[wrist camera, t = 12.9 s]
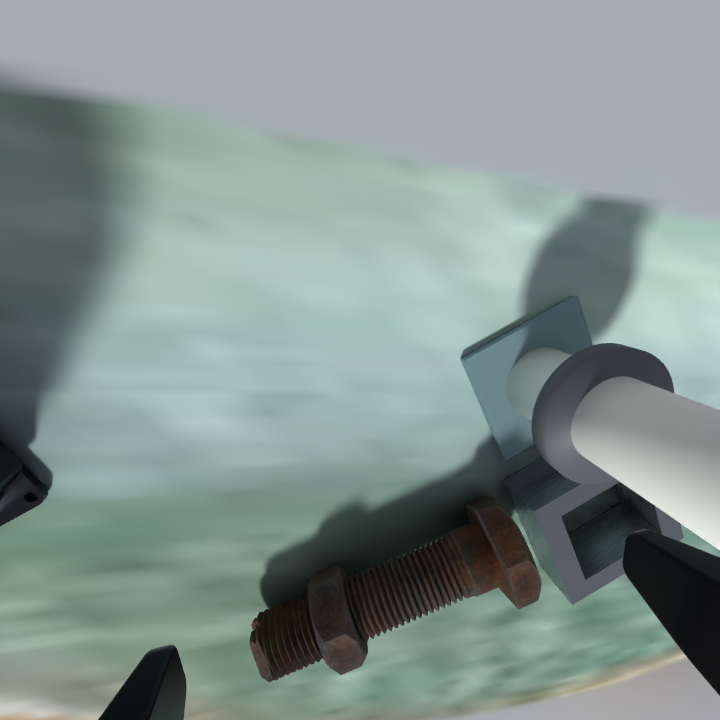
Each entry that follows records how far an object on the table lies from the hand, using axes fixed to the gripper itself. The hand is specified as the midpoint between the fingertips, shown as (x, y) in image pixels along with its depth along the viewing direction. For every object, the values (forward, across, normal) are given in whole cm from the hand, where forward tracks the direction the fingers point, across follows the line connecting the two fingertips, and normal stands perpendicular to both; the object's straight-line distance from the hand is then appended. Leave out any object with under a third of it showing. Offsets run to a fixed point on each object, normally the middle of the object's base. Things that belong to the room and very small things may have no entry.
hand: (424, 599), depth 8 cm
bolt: (+13, -2, +12) cm, 18 cm away
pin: (+13, -11, +2) cm, 17 cm away
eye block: (+13, -15, +10) cm, 22 cm away
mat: (+13, -12, +2) cm, 17 cm away
